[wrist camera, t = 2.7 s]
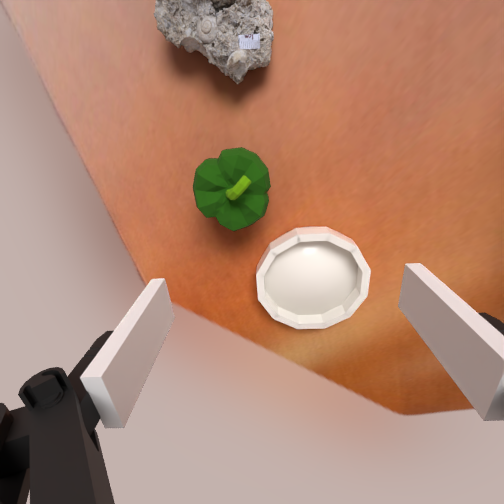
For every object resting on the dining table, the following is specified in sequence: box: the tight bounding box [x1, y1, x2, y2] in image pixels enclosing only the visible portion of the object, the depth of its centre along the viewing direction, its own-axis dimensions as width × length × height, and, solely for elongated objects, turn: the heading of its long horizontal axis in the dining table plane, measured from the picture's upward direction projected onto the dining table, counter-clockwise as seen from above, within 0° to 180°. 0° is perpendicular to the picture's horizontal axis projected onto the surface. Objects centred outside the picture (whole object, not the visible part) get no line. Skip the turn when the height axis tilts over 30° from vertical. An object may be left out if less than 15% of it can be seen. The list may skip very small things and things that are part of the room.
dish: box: [256, 226, 371, 329], centre depth 38 cm, size 15×15×3 cm
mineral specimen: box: [154, 0, 273, 84], centre depth 25 cm, size 6×11×12 cm
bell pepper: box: [193, 147, 271, 231], centre depth 30 cm, size 8×8×10 cm
